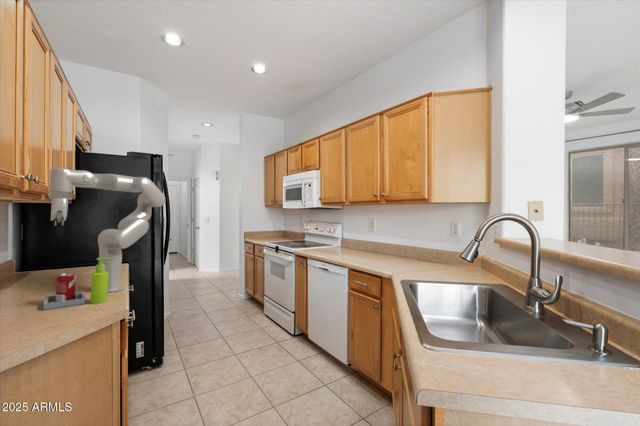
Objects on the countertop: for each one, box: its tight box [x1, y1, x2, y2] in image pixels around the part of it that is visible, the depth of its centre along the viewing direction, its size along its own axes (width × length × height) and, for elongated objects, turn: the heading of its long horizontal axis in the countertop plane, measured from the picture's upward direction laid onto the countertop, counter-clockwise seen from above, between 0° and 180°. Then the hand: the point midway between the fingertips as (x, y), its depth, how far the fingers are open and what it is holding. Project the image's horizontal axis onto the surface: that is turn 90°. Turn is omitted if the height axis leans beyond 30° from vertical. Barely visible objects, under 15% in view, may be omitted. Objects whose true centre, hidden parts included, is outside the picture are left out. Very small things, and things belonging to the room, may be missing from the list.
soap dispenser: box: [90, 257, 112, 305], centre depth 128 cm, size 6×7×20 cm
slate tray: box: [42, 291, 86, 311], centre depth 124 cm, size 13×13×2 cm
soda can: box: [55, 272, 78, 302], centre depth 125 cm, size 7×7×12 cm
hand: (59, 233), depth 126 cm, fingers open, 9 cm apart
